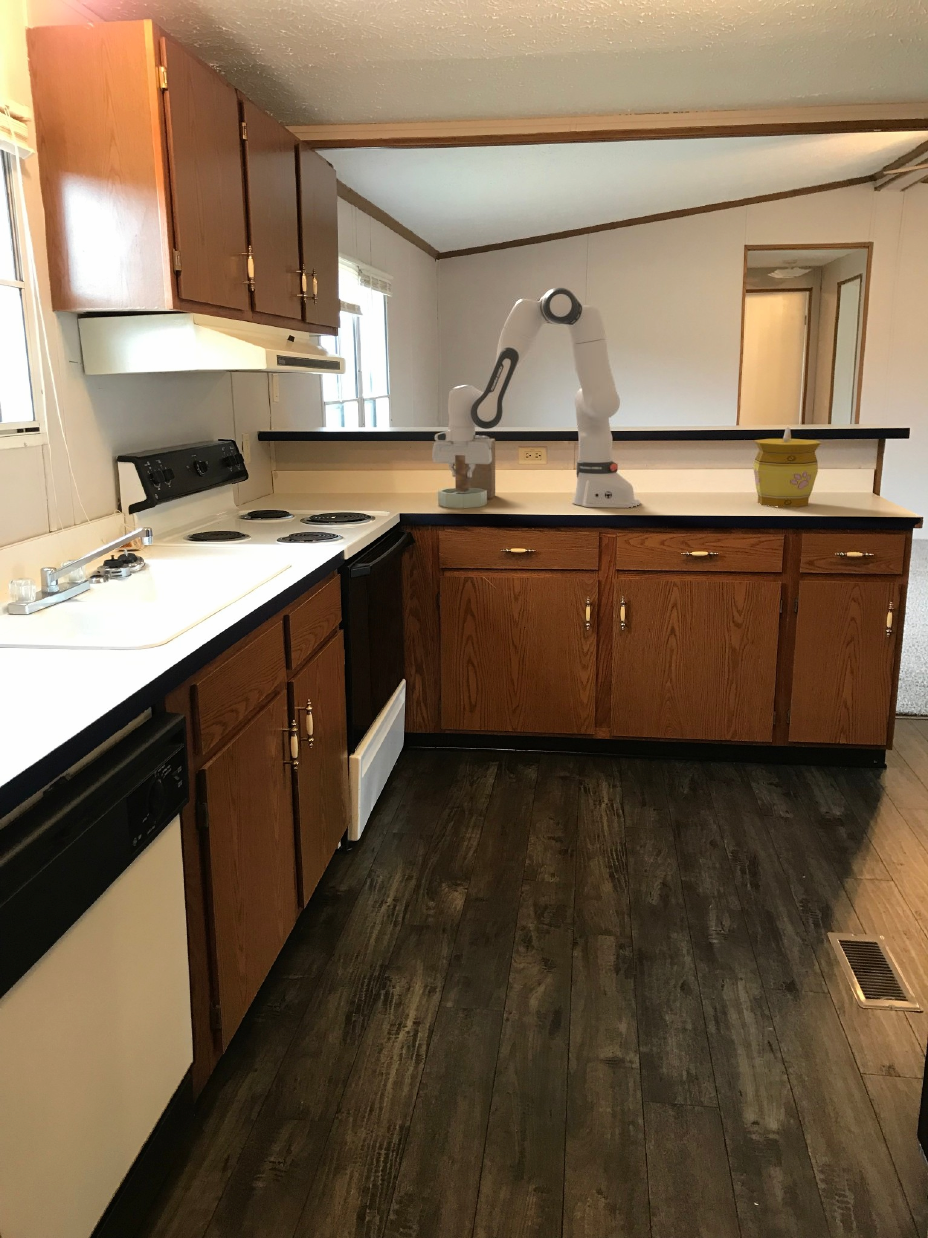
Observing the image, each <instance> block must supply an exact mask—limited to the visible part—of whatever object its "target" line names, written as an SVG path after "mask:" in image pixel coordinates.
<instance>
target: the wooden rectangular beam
mask: <svg viewBox="0 0 928 1238" xmlns="http://www.w3.org/2000/svg"><path fill="white" fill-rule="evenodd" d="M454 468H455V477H454V478H455V481H454V482H455V484H454V485H455V488H456V491H462V492H466V491H468V490H469V477H466V472H469V464H465V455H455V466H454Z"/></svg>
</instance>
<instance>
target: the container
mask: <svg viewBox="0 0 928 1238" xmlns="http://www.w3.org/2000/svg"><path fill="white" fill-rule="evenodd" d="M754 442H755V444H756V447H757V448H758V452H757V454H756V456H755V459H754V464H753V467H752V468H753V475H754V479H755V480H754V481H755V488H756V493H757V503H758V504H759V503H760V504H761V505H769V506H778V507H796V509H798V508H803V506H804V507H807V506H809V500H810V499H809V498H810V496H811V494H812V492H813V488H814V485H815V481H816V478H817V476H818V472H819V469H818V468H819V467H818V464H819V463H818V459H817V456H816V455H817V454H816V451H817V449H818V448H819V446H820V445H821V444H822V442H821V441H818V440H816V439H815V440H814V439H800V438H792V434H791V428H790V427H786V428H785V430H784V435H783V437H782V438H765V439H755V440H754ZM760 504H759V505H760ZM761 505H760V506H761ZM769 506H768V507H769Z"/></svg>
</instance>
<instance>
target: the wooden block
mask: <svg viewBox="0 0 928 1238" xmlns="http://www.w3.org/2000/svg"><path fill="white" fill-rule="evenodd" d="M490 439H491V441H492V447H491V453H492V461H491V462H490V463H489V464H475V468H474V470H473V471H472V477H469V488H480V489H484V490H487V500H492V499H493V498H494V497H495V496H496V439H495V438H490ZM470 468H471V467H469V470H470Z"/></svg>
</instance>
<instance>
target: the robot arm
mask: <svg viewBox="0 0 928 1238" xmlns="http://www.w3.org/2000/svg"><path fill="white" fill-rule="evenodd" d="M545 324H552V325H565V326H566V327H567V328H568V330H569V333H570V341H571V347H572V355H573V363H574V364H573V365H574V368H575V372H576V375H577V378H578V381H579V385H580V389H578V390H577V392H576V393H575V395H574V399H573V400H574V407H575V414H576V415H575V417H576V425H577V430H578V431H577V434H578V456H577V457H578V459H577V461H576V467H575V468H576V473H575V474H576V479H577V480H576V486H575V493H574V497H573V500H572V504H575V505H578V506H583V507H584V508H617V509H618V508H625V509H626V508H627V509H628V508H629V507H631V508H634V507H633V506H636V507H638V506H637V505H639V504H640V503H641V500H640V499H638V498H635V493H634V492H635V491H634V487H633V485H632V483H630V482H629V481H628V480H626V479H625V478H624V477H623V476H622V475H620V474H619V473H618V467H619V464H618V462H617V463H616V462H615V461H613V458H612V457H613V456H612V455H613V435H612V431H611V425H610V424H611V423H610V418H612V417H614V416H615V414H616V413H617V412H618V410H619V408H620V405H621V398H620V397H619V394H618V391H617V387H616V384H615V381H614V379H615V378H614V376H613V373H612V370H611V366H610V360H609V359H610V358H609V352H608V346H607V336H606V329H605V325H604V322H603V317H602V315H601V311H600V310H599V308H598V307H596V306H593V305H588V304H585V305H582V304H581V302H580V301H579V300H578V298H577V297H576V296H575V295H574V293H573V292H572V291H571V290H569V289H567V288H565V287H555V288H551V289H549V290H548V291H547V292H546V293H545V294H544V295H542V296H541V297H540V298H539V299H538V300H533V299H530V298H520V299H519V300H518V301H516V302H515V304H514V306H513V307H512V309H511V311H510V313H509V314H508V316H507V318H506V320H505V322H504V325H503V327H502V329H501V332H500V336H499V338H498V344H497V348H496V357H495V363H494V367H493V370H492V373H491V375H490V377H489V380H488V383H487V385H486V387H485V389H484V391H481V390H479V389H478V388H476V387H475V386H473V385H472V384H464V385H463V384H462V385H458V386H455V387H453V388H452V389H451V390H450V391H449V394H448V403H447V409H448V410H447V411H448V412H447V413H448V417H449V421H448V430H444V431H442V432H439V433H436V434H435V435H434V440H435V442H434V443H433V445H432V451H431V452H432V455H431V456H432V457H431V459H432V461H433V462H434V464H435V463H436V464H437V463H439V464H448V466H449V469H450V471H451V472H452V474H451V475H452V478H455V455H465V464H469V467H471V468H470V470H469V472H466V477H472V471H473V470H474V468H475V464H489V463H490V462H491V461H492V453H491V447H492V441H491V439H492V438H491V437H489V436H488V435H476V427H479V428H481V429H485V430H491V429H493V428H494V427H497V425H498V424H499V423H500V422H501V420H502V417H503V413H504V407H503V400H504V397H505V395H506V392H507V390H508V387H509V384H510V382H511V380H512V377H513V376H514V373H515V372H516V371H517V369H518V368H519V367H520V365H522V363H524V361H525V360H526V358H527V357H528V355H529V353H530V351H531V349H532V348H533V346H534V343H535V341H536V338H537V336H538V334H539V331H540V329H541V328H542V327H543V326H544V325H545ZM640 505H641V504H640ZM640 505H639V506H640Z"/></svg>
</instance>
